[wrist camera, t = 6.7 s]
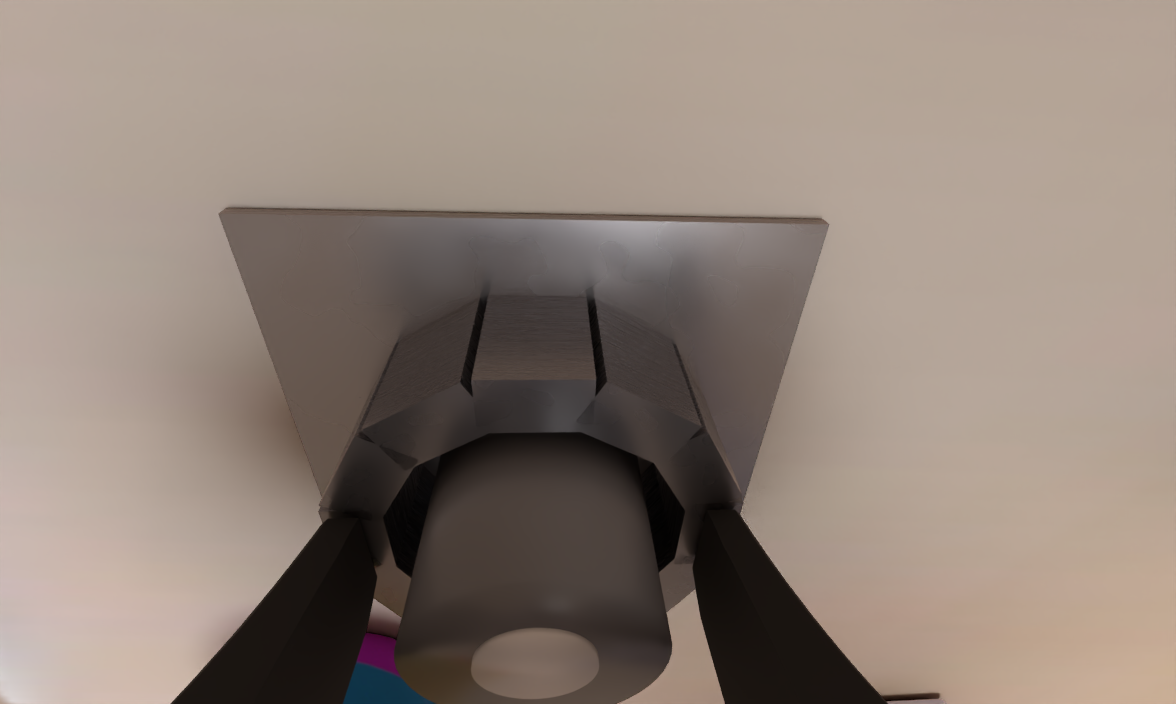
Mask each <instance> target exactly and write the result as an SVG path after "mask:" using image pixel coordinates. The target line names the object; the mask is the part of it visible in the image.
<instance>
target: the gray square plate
mask: <svg viewBox="0 0 1176 704" xmlns="http://www.w3.org/2000/svg"><path fill="white" fill-rule="evenodd" d="M218 214H219V217H220V219H221V222H222V225H223V228H224V230H225V233H226V236H227V239H228V241H229V244H230V247H231V250H232V252H233V255H234V258H235V260H236V263H237V266H238V269H239V271H240V274H241V277H242V280H243V282H244V285H245V288H246V291H247V293H248V296H249V299H250V302H251V304H252V307H253V310H254V312H255V315H256V318H257V321H258V323H259V326H260V329H261V332H262V334H263V337H264V340H265V343H266V345H267V348H268V351H269V354H270V356H271V359H272V362H273V364H274V367H275V370H276V373H277V375H278V378H279V381H280V384H281V386H282V389H283V392H284V395H285V397H286V400H287V403H288V405H289V408H290V411H291V414H292V416H293V419H294V422H295V425H296V427H297V430H298V433H299V436H300V438H301V441H302V444H303V447H304V449H305V452H306V455H307V457H308V460H309V463H310V466H311V468H312V471H313V474H314V477H315V479H316V482H317V485H318V488H319V490H320V493H321V496H322V499H321V501H320V504H319V506H321V507H320V509H319V515H320V517H321V520H322V523H323V522H324V521H326V520H327V519H329V518H359V521H360V524H361V527H362V530H363V533H364V536H365V539H366V543H367V546H368V549H369V552H370V555H371V558H372V562H373V565H374V568H375V571H376V574H377V582H376V587H375V592H374V597H373V598H374V599H376V600H377V601H378V602H380V603H381V604H383V605H384V606H386V607H387V608H389V609H390V610H391V611H393V612H394V613H396V614H397V615H399V616H400V617H402V615H403V611H404V607H405V602H406V598H407V594H408V590H409V586H410V582H411V577H412V573H413V569H414V565H415V561H416V557H417V552H418V548H419V544H420V540H421V536H422V532H423V527H424V523H425V519H426V515H427V511H428V506H429V502H430V498H431V494H432V490H433V486H434V481H435V477H436V473H437V469H438V465H439V461H440V456H441V455H442V454H444V453H446V452H448V451H450V450H453V449H455V448H457V447H459V446H462V445H464V444H466V443H468V442H470V441H473V440H475V439H477V438H479V437H482V436H484V435H486V434H488V433H540V432H582V433H585V434H587V435H589V436H592V437H594V438H596V439H599V440H601V441H603V442H606V443H608V444H610V445H613V446H615V447H617V448H620V449H622V450H624V451H627V452H629V453H632V454H634V455H636V456H637V458H638V464H639V469H640V474H641V480H642V485H643V490H644V496H645V501H646V507H647V512H648V517H649V523H650V528H651V533H652V539H653V544H654V550H655V555H656V560H657V566H658V571H659V576H660V582H661V587H662V592H663V598H664V603H665V609H666V612H668V611H669V610H670V609H671V608H672V607H674V606H675V605H676V604H677V603H679V602H680V601H681V600H682V599H683V598H685V597H686V596H687V595H688V594H690V593H691V592H692V591H693V590H694V589H696V588H695V582H694V576H693V569H692V566H693V563H694V559H695V555H696V551H697V547H698V543H699V539H700V535H701V531H702V527H703V523H704V519H705V516H706V512H707V510H731V509H735V510H736V511H737V512H738V513H739V514H740V512H741V508H742V505H743V501H744V497H745V494H746V491H747V488H748V485H749V481H750V478H751V475H752V472H753V468H754V465H755V462H756V459H757V456H758V452H759V449H760V446H761V443H762V439H763V436H764V433H765V430H766V427H767V423H768V420H769V417H770V414H771V410H772V407H773V404H774V401H775V398H776V394H777V391H778V388H779V385H780V382H781V378H782V375H783V372H784V369H785V365H786V362H787V359H788V356H789V353H790V349H791V346H792V343H793V340H794V336H795V333H796V330H797V327H798V324H799V320H800V317H801V314H802V311H803V307H804V304H805V301H806V298H807V295H808V291H809V288H810V285H811V282H812V278H813V275H814V272H815V269H816V266H817V262H818V259H819V256H820V253H821V249H822V246H823V243H824V240H825V237H826V233H827V230H828V227H829V224H828V223H827V222H826V221H824V220H823V219H777V218H723V217H669V216H616V215H562V214H509V213H455V212H402V211H348V210H295V209H241V208H226V209H224V210H223V211H221V212H220V213H218Z"/></svg>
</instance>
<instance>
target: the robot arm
mask: <svg viewBox="0 0 1176 704" xmlns="http://www.w3.org/2000/svg"><path fill="white" fill-rule="evenodd" d="M692 569H693V576H694V582H695V588H696V594H697V600H698V605H699V611H700V616H701V620H702V624H703V627H704V631H705V635H706V638H707V642H708V645H709V649H710V652H711V656H712V660H713V663H714V667H715V670H716V674H717V677H718V681H719V684H720V688H721V691H722V695H723V698H724V702H725V704H946V702H945V701H944V700H942V699H923V700H904V701H885V700H884V699H883V697H882V696H881V695H880V694H879V693H878V692H877V691H876V690H875V689H874V688H873V687H872V686H871V685H870V683H869V682H868V681H867V680H866V679H865V678H864V677H863V676H862V674H861V673H860V672H859V671H858V670H857V669H856V668H855V666H854V665H853V664H852V663H851V662H850V661H849V660H848V658H847V657H846V656H845V655H844V654H843V652H842V651H841V650H840V649H839V648H838V646H837V645H836V644H835V643H834V642H833V640H832V639H831V638H830V637H829V636H828V634H827V633H826V632H825V631H824V630H823V628H822V627H821V626H820V625H819V623H818V622H817V621H816V620H815V618H814V617H813V616H812V614H811V613H810V612H809V611H808V609H807V608H806V607H805V605H804V604H803V603H802V601H801V600H800V599H799V598H798V596H797V595H796V594H795V592H794V591H793V590H792V588H791V587H790V586H789V584H788V583H787V582H786V580H785V579H784V578H783V576H782V575H781V574H780V572H779V571H778V569H777V568H776V567H775V565H774V564H773V562H772V561H771V560H770V558H769V557H768V555H767V554H766V553H765V551H764V550H763V548H762V547H761V545H760V544H759V542H758V541H757V539H756V538H755V537H754V535H753V534H752V532H751V531H750V529H749V528H748V526H747V525H746V523H745V522H744V520H743V519H742V517H741V516H740V514H739V513H738V512H737V511H736V510H735V509H731V510H707V512H706V516H705V519H704V523H703V527H702V531H701V535H700V539H699V543H698V547H697V551H696V555H695V559H694V563H693V566H692ZM376 582H377V574H376V571H375V568H374V565H373V562H372V558H371V555H370V552H369V549H368V546H367V543H366V539H365V536H364V533H363V530H362V527H361V524H360V521H359V518H329V519H327V520H326V521H324V522H323V523H322V525H321V526H320V527H319V529H318V530H317V531H316V533H315V534H314V535H313V537H312V538H311V539H310V540H309V542H308V543H307V544H306V546H305V547H304V548H303V550H302V551H301V552H300V553H299V555H298V556H297V557H296V559H295V560H294V561H293V562H292V564H291V565H290V566H289V568H288V569H287V570H286V571H285V573H284V574H283V575H282V576H281V578H280V579H279V580H278V581H277V583H276V584H275V585H274V586H273V588H272V589H271V590H270V591H269V593H268V594H267V595H266V596H265V597H264V599H263V600H262V601H261V602H260V603H259V605H258V606H257V607H256V608H255V609H254V611H253V612H252V613H251V614H250V615H249V617H248V618H247V619H246V620H245V621H244V623H243V624H242V625H241V626H240V627H239V629H238V630H237V631H236V632H235V633H234V634H233V636H232V637H231V638H230V639H229V640H228V641H227V642H226V643H225V645H224V646H223V647H222V648H221V649H220V650H219V651H218V652H217V654H216V655H215V656H214V657H213V658H212V659H211V660H210V661H209V662H208V664H207V665H206V666H205V667H204V668H203V669H202V670H201V671H200V673H199V674H198V675H197V676H196V677H195V678H194V679H193V680H192V681H191V682H190V684H189V685H188V686H187V687H186V688H185V689H184V690H183V691H182V692H181V693H180V694H179V695H178V696H177V697H176V698H175V700H174V701H173V702H172V703H171V704H343V702H344V699H345V696H346V693H347V689H348V686H349V683H350V680H351V677H352V674H353V671H354V668H355V665H356V662H357V659H358V655H359V652H360V649H361V646H362V643H363V640H364V636H365V633H366V630H367V626H368V621H369V617H370V612H371V607H372V602H373V597H374V592H375V587H376Z"/></svg>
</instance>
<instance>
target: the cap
mask: <svg viewBox="0 0 1176 704" xmlns="http://www.w3.org/2000/svg"><path fill="white" fill-rule="evenodd" d="M671 654H672V641H671V635H670V630H669V625H668V619H667V614H666V609H665V603H664V598H663V592H662V587H661V582H660V576H659V571H658V566H657V560H656V555H655V550H654V544H653V539H652V533H651V528H650V523H649V517H648V512H647V507H646V501H645V496H644V490H643V485H642V480H641V474H640V469H639V464H638V458H637V456H636V455H634V454H632V453H629V452H627V451H624V450H622V449H620V448H617V447H615V446H613V445H610V444H608V443H606V442H603V441H601V440H599V439H596V438H594V437H592V436H589V435H587V434H585V433H582V432H540V433H488V434H486V435H484V436H482V437H479V438H477V439H475V440H473V441H470V442H468V443H466V444H464V445H462V446H459V447H457V448H455V449H453V450H450V451H448V452H446V453H444V454H442V455H441V456H440V461H439V465H438V469H437V473H436V477H435V481H434V486H433V490H432V494H431V498H430V502H429V506H428V511H427V515H426V519H425V523H424V527H423V532H422V536H421V540H420V544H419V548H418V552H417V557H416V561H415V565H414V569H413V573H412V577H411V582H410V586H409V590H408V594H407V598H406V602H405V607H404V611H403V615H402V619H401V623H400V628H399V632H398V636H397V640H396V644H395V648H394V662H395V666H396V669H397V671H398V673H399V675H400V676H401V678H402V679H403V680H404V681H405V683H406V684H407V685H408V686H409V687H410V688H412V689H413V690H414V691H415V692H416V693H418V694H419V695H421V696H423V697H424V698H426V699H427V700H430V701H432V702H434V703H436V704H617V703H619V702H621V701H624V700H626V699H628V698H630V697H632V696H634V695H635V694H637V693H639V692H640V691H642V690H643V689H645V688H646V687H648V686H649V685H650V684H651V683H652V682H654V681H655V680H656V679H657V678H658V677H659V676H660V674H661V673H662V672H663V671H664V669H665V668H666V666H667V664H668V663H669V660H670V657H671Z"/></svg>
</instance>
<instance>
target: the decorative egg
mask: <svg viewBox="0 0 1176 704" xmlns="http://www.w3.org/2000/svg"><path fill="white" fill-rule="evenodd" d="M395 644H396V640H395V639H393V638H390V637H386V636H382V635H377V634H371V633H365V636H364V640H363V643H362V646H361V649H360V652H359V655H358V659H357V662H356V665H355V668H354V671H353V674H352V677H351V680H350V683H349V686H348V689H347V693H346V696H345V699H344V702H343V704H436V703H434V702H432V701H430V700H427V699H426V698H424V697H423V696H421V695H419V694H418V693H416V692H415V691H414V690H413V689H412V688H410V687H409V686H408V685H407V684H406V683H405V681H404V680H403V679H402V678H401V676H400V675H399V673H398V671H397V669H396V666H395V662H394V648H395Z"/></svg>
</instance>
